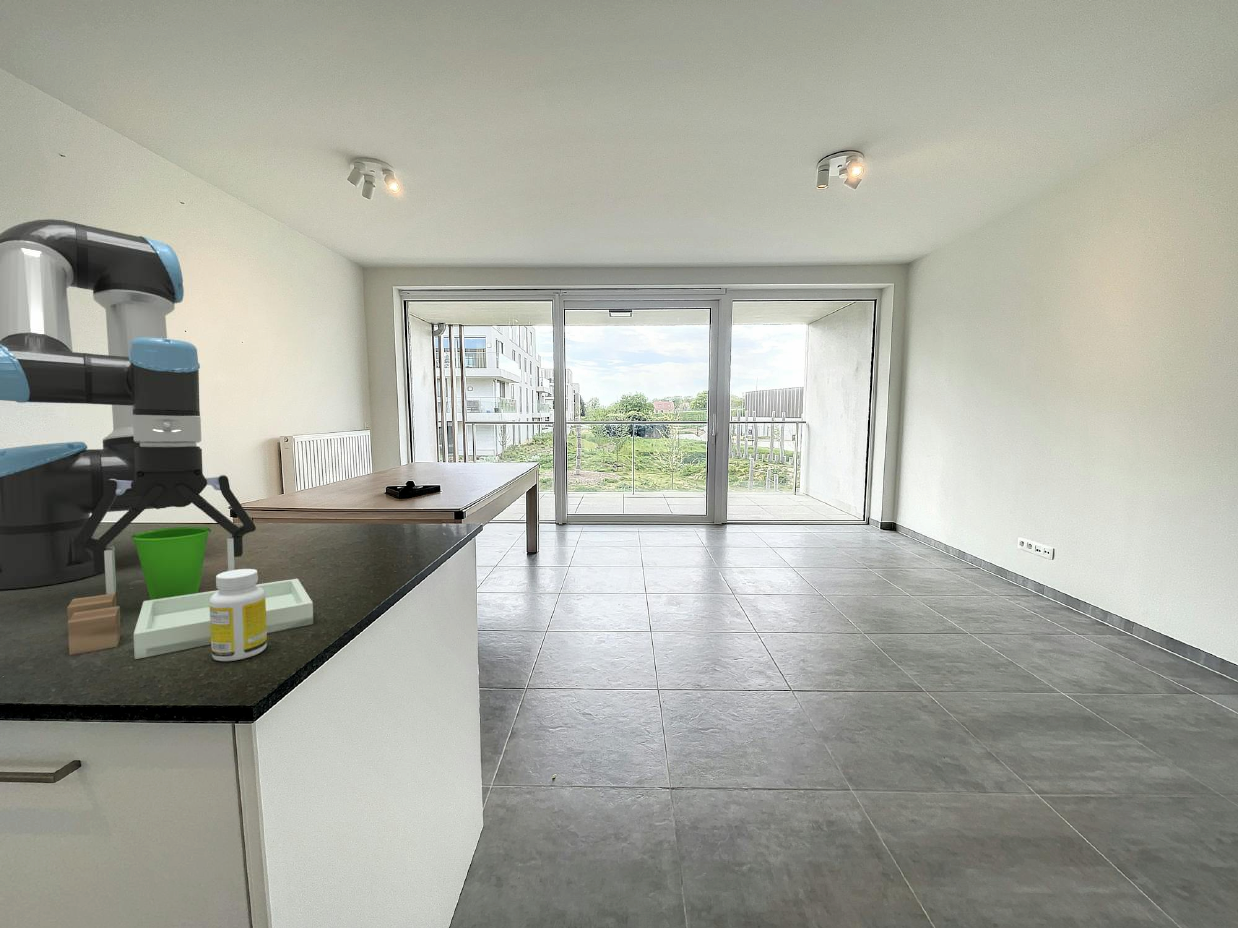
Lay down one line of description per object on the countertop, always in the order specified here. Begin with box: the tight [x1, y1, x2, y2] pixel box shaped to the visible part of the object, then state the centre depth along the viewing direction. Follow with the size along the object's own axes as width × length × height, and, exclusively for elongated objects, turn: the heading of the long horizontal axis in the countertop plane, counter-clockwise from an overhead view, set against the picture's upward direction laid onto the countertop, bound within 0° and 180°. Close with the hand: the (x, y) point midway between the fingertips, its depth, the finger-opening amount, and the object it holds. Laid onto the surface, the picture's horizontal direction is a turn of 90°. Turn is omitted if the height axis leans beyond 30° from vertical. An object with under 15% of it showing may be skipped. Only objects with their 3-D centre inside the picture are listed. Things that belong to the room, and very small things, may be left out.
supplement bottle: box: [209, 568, 268, 662], centre depth 61 cm, size 5×5×10 cm
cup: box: [130, 526, 212, 600], centre depth 77 cm, size 9×9×11 cm
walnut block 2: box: [67, 605, 122, 656], centre depth 62 cm, size 4×4×4 cm
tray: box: [133, 578, 314, 660], centre depth 70 cm, size 14×18×3 cm
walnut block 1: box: [66, 593, 117, 623], centre depth 67 cm, size 4×4×4 cm
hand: (174, 585), depth 77 cm, fingers open, 13 cm apart
